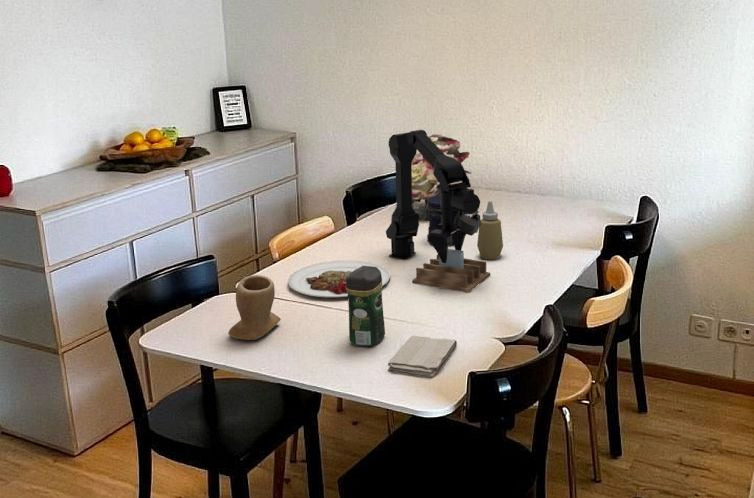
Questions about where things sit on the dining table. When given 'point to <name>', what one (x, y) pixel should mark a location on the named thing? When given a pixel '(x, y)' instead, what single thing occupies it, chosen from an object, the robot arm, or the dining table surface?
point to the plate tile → (454, 259)
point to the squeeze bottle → (490, 234)
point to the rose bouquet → (431, 173)
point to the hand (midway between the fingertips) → (451, 258)
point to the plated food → (328, 278)
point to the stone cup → (254, 308)
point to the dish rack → (452, 275)
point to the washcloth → (422, 356)
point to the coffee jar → (365, 306)
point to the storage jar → (435, 215)
